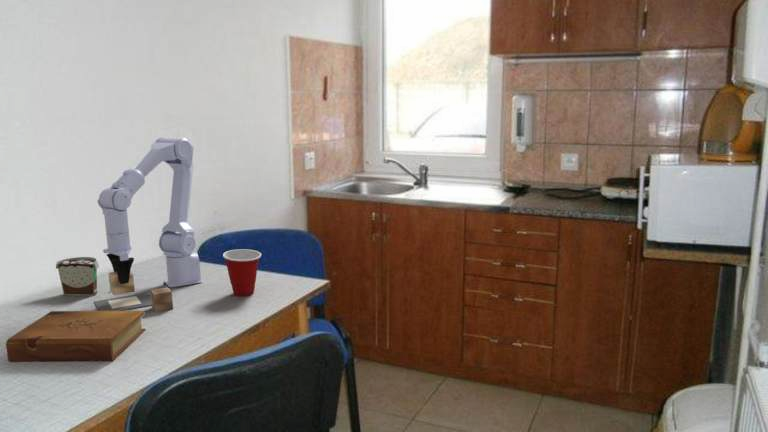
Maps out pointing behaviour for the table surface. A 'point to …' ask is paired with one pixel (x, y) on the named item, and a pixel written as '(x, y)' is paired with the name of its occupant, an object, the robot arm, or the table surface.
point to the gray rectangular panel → (124, 302)
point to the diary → (76, 336)
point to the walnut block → (162, 299)
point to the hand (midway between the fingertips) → (122, 280)
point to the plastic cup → (242, 270)
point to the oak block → (120, 288)
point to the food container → (78, 275)
